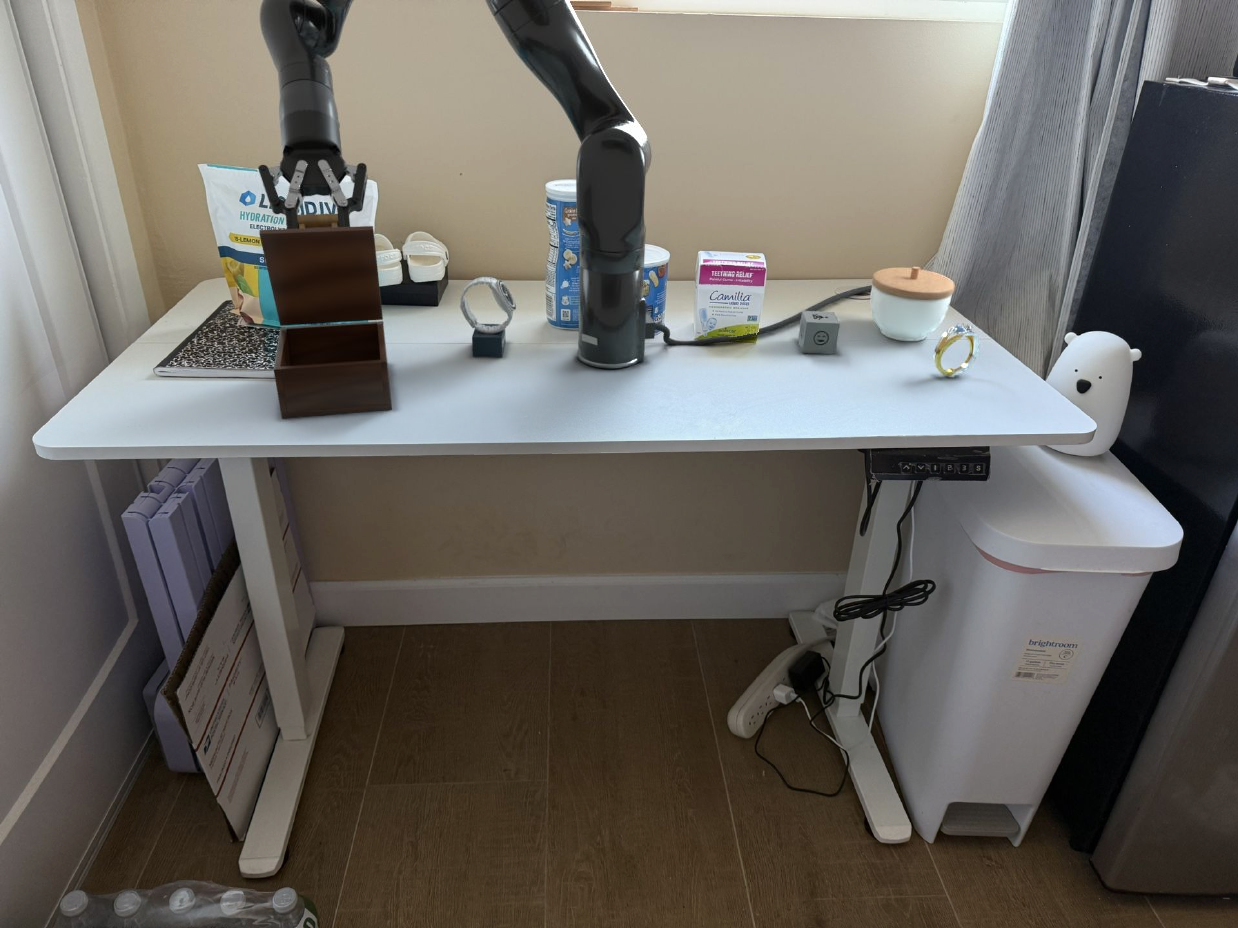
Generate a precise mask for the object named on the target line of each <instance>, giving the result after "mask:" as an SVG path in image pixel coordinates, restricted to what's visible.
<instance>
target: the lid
mask: <svg viewBox="0 0 1238 928" xmlns="http://www.w3.org/2000/svg"><path fill="white" fill-rule="evenodd" d="M297 222H298V228H299V229H287V228H278V229H277V228H276V229H275V228H274V229H259V231H258V233H259V238H260V239H259V240H260V243H261V248H262V252H263V256H264V260H265V265H266V269H267V274H268V277H269V278H268V279H269V283H270V287H271V291H272V296H273V301H274V304H275V308H276V309H275V310H276V314H277V318H278V322H279V326H280V327H286V326H302V325H319V324H336V323H353V322H370V321H383V320H384V317H383V316H384V315H383V306H382V295H381V289H380V278H379V269H378V261H377V260H378V259H377V250H376V240H375V231H374V226H373V225H361V226H350V227H339V223H338V213H315V214H314V213H313V214H298V215H297Z"/></svg>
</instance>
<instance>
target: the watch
mask: <svg viewBox="0 0 1238 928" xmlns="http://www.w3.org/2000/svg"><path fill="white" fill-rule="evenodd" d="M478 285H488V288H489V289H490V290H491V293H492V295H493V298H494V300H495V302H496V303H497V305H498V307H500V308H499V309H501V310H502V311H503V312H504V313H506V314H507V319H506V320H504V322H502V323H480V322H479V321H478V318H477V317H476V315H474V313H473V312H472V310H471V308H470V306H469V303H468V302H467V297H466V294H467V292H468V291H469V289H471V288H473V287H474V286H478ZM459 308H460V310H461V313H462V315H463V317H464V319H465V320H466V322H467V323H468V325H469V326H470V327H471V328H472V329H473V333H472V336H471V347H472V348H471V349H472V357H473V358H503V356H504V351H505V348H506V345H507V343H506V340H507V339H506V329H507V327H508V326H509V325H510V324H511V322H512V319H513V315H514V311H516V309H517V305H516V301H515V298H514V297H513V294H512V293H511V290H510V289H509V288H508V286H507V284H506V283H505V282H503V280H502V279H496V278H495V277H491V276H480V277H477V278H475V279H472V280H470V281H469V283H467V284H466V285H465V287H464V289H463V291H462V293H461V297H460V305H459Z"/></svg>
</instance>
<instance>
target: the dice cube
mask: <svg viewBox="0 0 1238 928" xmlns="http://www.w3.org/2000/svg"><path fill="white" fill-rule="evenodd" d="M801 312H802V316H801V319H800V324H799V331H798V338H797V342H798V345H799V347H800V350H801V353H802V354H823V355H835V354H836V350H837V344H838V338H839V333H840V332H839V331H840V326H841V323H840V320H839V318H838V317H837V315H836V313H835V311H819V310H816V311H804V310H802V311H801Z"/></svg>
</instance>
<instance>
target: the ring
mask: <svg viewBox="0 0 1238 928" xmlns="http://www.w3.org/2000/svg"><path fill="white" fill-rule="evenodd" d="M959 324H960V323H959V322H956V324H955V325H952V326H950V327H949V328H948V329H946V330H945V332H944V333H943V334H942V335H941V336H940V338H939V340H938V341H937V344H936V346H935V348H934V351H933V354H932V355H933V356H932V359H933V364H934V367H935V369H936V370H937V371H938V372H939V373H940V374H942V375H943V376H947V377H949V378H955V377H956V376H959V375H960V374H963V373H964V372H966V371H967V370H968V369H969V368H970V367H971V366H972V365H973V364H974V362H975V361H976V359H977V357H978V355H979V351H980V338H979V335H978V334H977V333H975V332H973V331H972V330H973V329H974V326H973V325H969V324H965V323H961V325H959ZM951 335H953V336H951ZM950 336H951V337H950ZM949 337H950V338H949ZM963 337H965V338H966V339H967V340H968V344H969V353H968V356H967V358H966V360H965V361H964V363H962V364H961V365H960V366H959V367H957V368H950V367H949V368H947V369H944V367H943V366H942V358H943V355H944V353H945V352H946V351H947V349H948V348H949V347H951V346H952V345H953V344H955V342H957V341H959V340H960V339H961V338H963ZM948 338H949V339H948Z"/></svg>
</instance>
